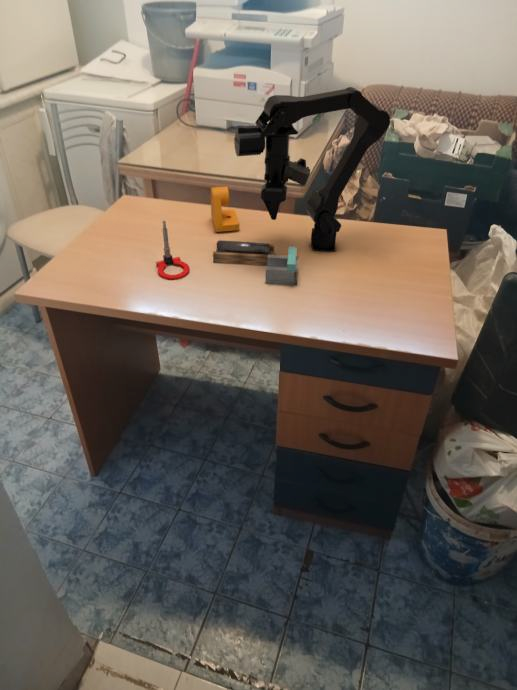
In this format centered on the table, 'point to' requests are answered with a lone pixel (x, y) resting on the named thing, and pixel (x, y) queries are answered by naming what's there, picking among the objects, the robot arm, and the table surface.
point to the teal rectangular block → (291, 259)
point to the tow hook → (170, 260)
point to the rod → (243, 247)
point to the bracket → (222, 211)
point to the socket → (280, 271)
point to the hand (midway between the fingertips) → (275, 211)
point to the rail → (242, 257)
